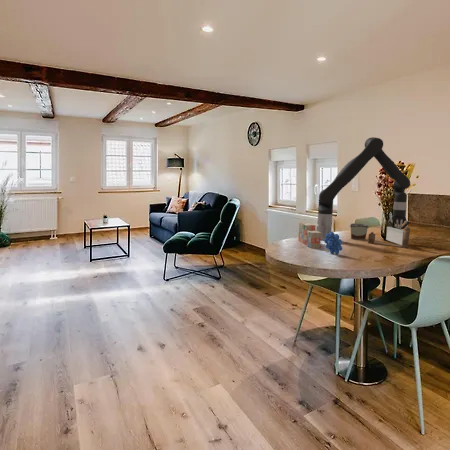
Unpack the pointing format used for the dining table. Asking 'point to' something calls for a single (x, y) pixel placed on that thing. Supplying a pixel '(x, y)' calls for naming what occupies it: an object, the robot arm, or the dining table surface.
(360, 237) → the food container
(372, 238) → the latch post
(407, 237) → the hinge post
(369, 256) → the dining table surface
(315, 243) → the stack of blocks
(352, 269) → the dining table surface
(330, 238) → the grapes
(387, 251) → the dining table surface
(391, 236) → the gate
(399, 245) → the sill
